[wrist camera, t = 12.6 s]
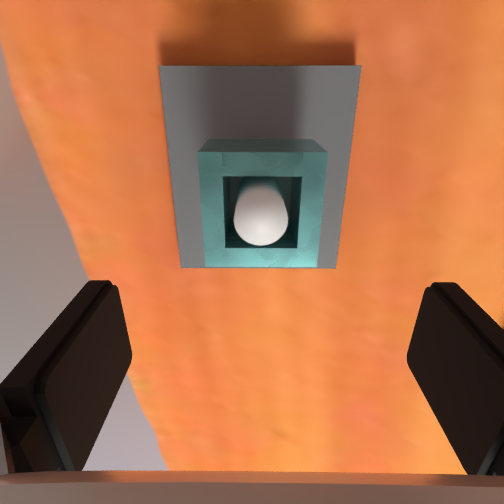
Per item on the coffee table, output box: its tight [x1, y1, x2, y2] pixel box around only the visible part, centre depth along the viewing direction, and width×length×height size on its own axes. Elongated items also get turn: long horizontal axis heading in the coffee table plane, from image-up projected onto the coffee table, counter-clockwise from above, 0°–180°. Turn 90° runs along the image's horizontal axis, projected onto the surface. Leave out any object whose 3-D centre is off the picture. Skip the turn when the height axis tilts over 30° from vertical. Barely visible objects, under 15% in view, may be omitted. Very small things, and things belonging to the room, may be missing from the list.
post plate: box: [159, 65, 361, 268], centre depth 23 cm, size 16×14×10 cm
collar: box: [197, 139, 328, 267], centre depth 22 cm, size 7×7×5 cm
